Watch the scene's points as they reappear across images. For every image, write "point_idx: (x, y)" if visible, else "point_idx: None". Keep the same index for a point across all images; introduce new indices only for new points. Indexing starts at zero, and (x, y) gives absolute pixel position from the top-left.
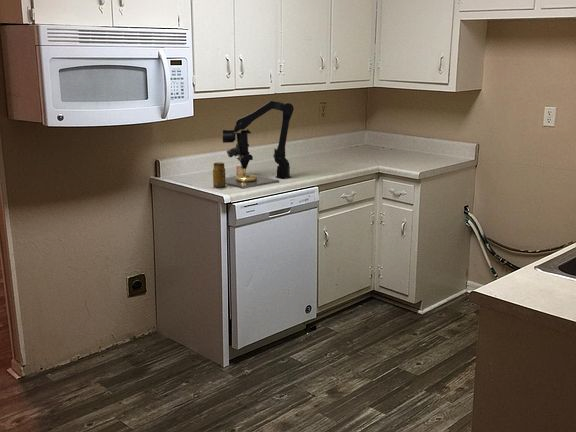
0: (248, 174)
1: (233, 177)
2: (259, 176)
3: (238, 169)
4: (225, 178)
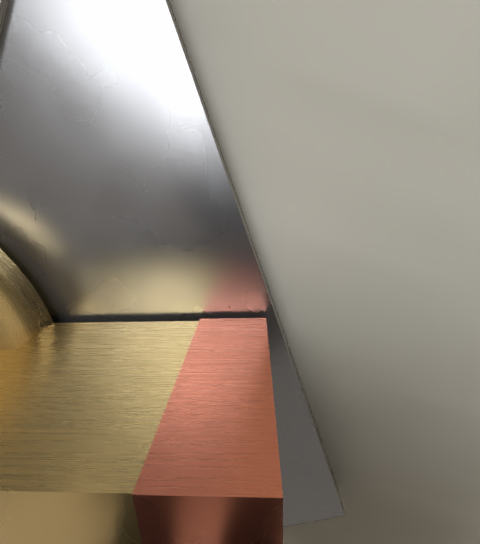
0: (314, 490)
1: (158, 224)
2: None
3: (109, 418)
4: (97, 23)
